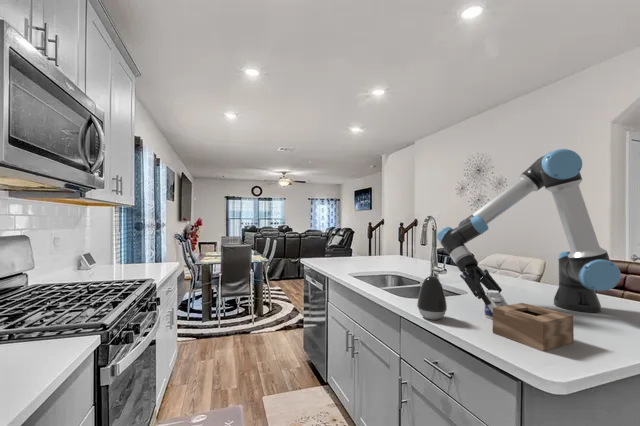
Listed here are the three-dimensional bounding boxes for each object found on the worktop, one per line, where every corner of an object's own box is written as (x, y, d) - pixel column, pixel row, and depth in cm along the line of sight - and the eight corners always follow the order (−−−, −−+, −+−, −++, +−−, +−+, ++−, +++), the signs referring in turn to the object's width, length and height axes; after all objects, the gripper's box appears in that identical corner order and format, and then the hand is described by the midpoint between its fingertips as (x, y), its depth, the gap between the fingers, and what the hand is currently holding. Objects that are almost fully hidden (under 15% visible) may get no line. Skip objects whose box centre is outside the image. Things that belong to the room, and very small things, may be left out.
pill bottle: (481, 315, 117) (481, 289, 117) (494, 315, 118) (494, 289, 118) (490, 320, 112) (490, 292, 112) (504, 319, 112) (504, 292, 113)
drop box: (522, 326, 106) (522, 302, 106) (573, 342, 92) (573, 315, 92) (492, 332, 99) (492, 307, 99) (543, 351, 86) (542, 322, 86)
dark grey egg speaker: (445, 314, 117) (446, 274, 118) (447, 323, 108) (447, 279, 108) (417, 312, 121) (417, 272, 121) (416, 320, 111) (417, 277, 111)
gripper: (474, 264, 133) (511, 313, 118) (442, 266, 125) (478, 319, 110) (485, 253, 128) (525, 302, 113) (452, 254, 120) (491, 308, 105)
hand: (502, 311), depth 112 cm, fingers closed on pill bottle, 5 cm apart
